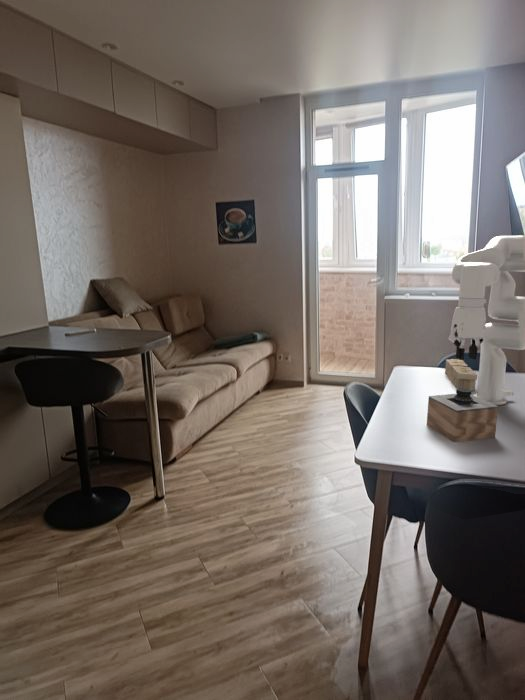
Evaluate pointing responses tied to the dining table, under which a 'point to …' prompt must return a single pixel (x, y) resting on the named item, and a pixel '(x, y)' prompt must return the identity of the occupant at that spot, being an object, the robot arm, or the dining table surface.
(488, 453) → the dining table surface
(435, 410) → the sleeve block
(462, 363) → the block tower
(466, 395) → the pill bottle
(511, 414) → the dining table surface
